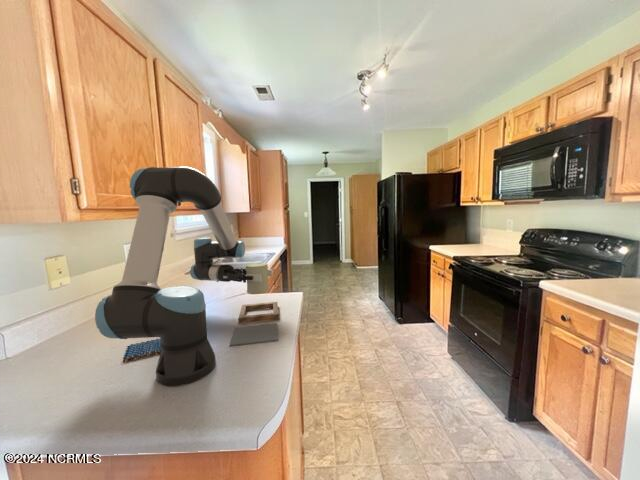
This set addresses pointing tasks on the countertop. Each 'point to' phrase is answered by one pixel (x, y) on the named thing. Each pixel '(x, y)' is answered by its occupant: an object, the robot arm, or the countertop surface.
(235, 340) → the pad
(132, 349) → the woven mat
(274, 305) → the cradle
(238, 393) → the countertop surface
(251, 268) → the can
